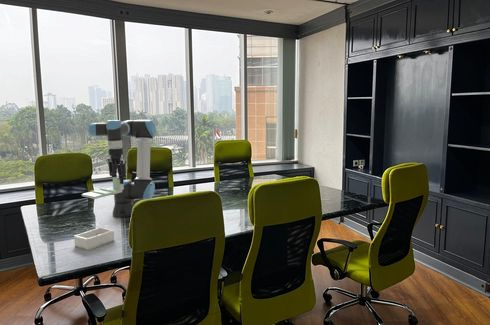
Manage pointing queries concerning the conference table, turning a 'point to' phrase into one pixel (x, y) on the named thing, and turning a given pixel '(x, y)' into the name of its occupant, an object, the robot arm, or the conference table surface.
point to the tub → (94, 238)
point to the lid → (105, 190)
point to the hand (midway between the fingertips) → (118, 188)
